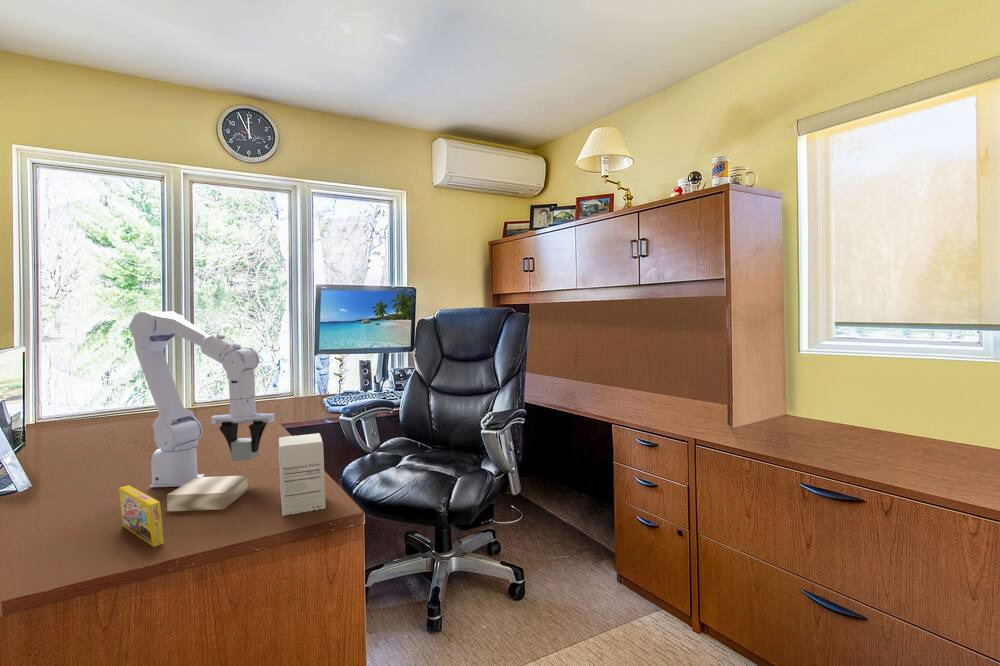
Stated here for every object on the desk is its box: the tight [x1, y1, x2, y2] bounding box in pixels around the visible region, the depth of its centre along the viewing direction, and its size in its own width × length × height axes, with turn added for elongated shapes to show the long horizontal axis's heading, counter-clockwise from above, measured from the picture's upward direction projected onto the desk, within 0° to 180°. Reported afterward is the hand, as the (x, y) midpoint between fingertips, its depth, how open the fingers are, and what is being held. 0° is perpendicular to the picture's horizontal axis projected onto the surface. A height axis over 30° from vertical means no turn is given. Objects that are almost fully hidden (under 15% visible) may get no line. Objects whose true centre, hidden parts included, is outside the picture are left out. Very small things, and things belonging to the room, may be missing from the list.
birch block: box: [166, 475, 249, 512], centre depth 118 cm, size 12×12×4 cm
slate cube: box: [230, 437, 259, 462], centre depth 128 cm, size 4×4×4 cm
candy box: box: [118, 484, 165, 548], centre depth 100 cm, size 16×2×8 cm, turn 53°
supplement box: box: [278, 432, 327, 517], centre depth 113 cm, size 9×9×15 cm
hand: (244, 451), depth 128 cm, fingers closed on slate cube, 4 cm apart
